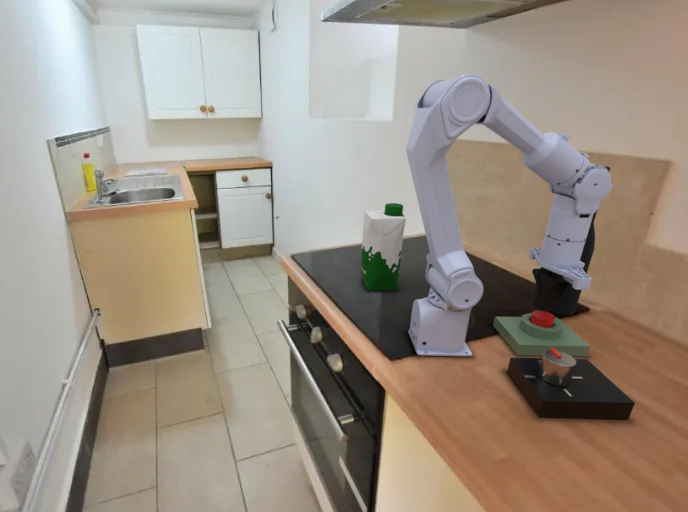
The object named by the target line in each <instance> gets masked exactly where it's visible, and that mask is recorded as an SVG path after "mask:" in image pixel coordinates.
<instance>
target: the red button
mask: <svg viewBox="0 0 688 512" xmlns="http://www.w3.org/2000/svg"><path fill="white" fill-rule="evenodd" d="M531 313H532V316H531V320H530V322H531V323H533V324H535V325H537V326H541V327H545V328H552V327H553V324H554V321H555V318H556V316H555V314H553V313H550V312H548V311H541V310H540V309H539V310H533V311H532V312H531Z"/></svg>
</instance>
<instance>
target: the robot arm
mask: <svg viewBox="0 0 688 512" xmlns="http://www.w3.org/2000/svg"><path fill="white" fill-rule="evenodd" d="M474 125H482V126H484V127H486V128H487V129H489V130H490V131H491V132H493V133H495V135H497V136H499V137H500V138H502V139H503V140H505V141H506V142H507V143H509V144H510V145H512V146H513V147H515V148H516V149H518V150H519V151H520V152H522V157H521V158H522V160H521V161H522V164H523V165H524V166H525V167H527V168H528V169H529V170H530V171H531V172H532V173H534V174H535V175H536V176H538V177H539V178H541V179H542V180H543V181H544V182H545V183H547V184H548V188H549V191H550V192H551V193H552V194H554V198H553V202H552V205H551V210H550V213H549V217H548V222H547V225H546V230H545V234H544V238H543V242H542V245H541V247H530V249H529V254H528V258H529V260H535V261H536V264H537V265H538V266H539V267H540V268H533V269H532V270H531V273H532V275H533V278H534V281H535V286H536V295H537V296H536V297H537V299H536V300H537V308H538V309H539V311H545V312H548V311H553V310H554V309H555V307H556V306H557V304H558V303H559V301H560V300H561V298H562V297H563V296H564V294H565V293H566V292H567V291H568V290H569V289H571V288H572V287H573V288H574V289H576V290H581V291H583V290H585V291H586V290H588V291H589V290H590V287H591V284H592V281H593V278H592V277H591V276H589V275H588V273H587V274H586V273H585V272H584V270H583V269H582V268H583V267H584V265H585V263H583V262H581V261H580V258H581V255H582V251H583V248H584V244H585V241H586V238H587V234H588V231H589V228H590V224H591V221H592V217H593V214H594V213H595V212H596V210H597V211H598V210H599V208H600V205H601V202H602V201H603V200H604V199H605V198H606V197H607V195H609V193H610V192H611V191H612V190H613V187H614V183H612V177H611V174H610V171H608V170H607V169H606V168H605V167H604V166H605V165H602V164H596V163H591V162H590V160H589V158H590V156H589V154H587V152H584V151H583V152H582V151H578V150H577V149H576V148H575V147H574V146H572V144H570V142H568V141H569V139H570V137H569V136H568V135H567V134H566V133H562V132H560V133H559V132H557V133H556V132H554V131H551V132H546V133H542V132H541V131H539V129H538V128H536V127H535V126H534V125H533V124H532V123H531V122H530V120H528V119H527V118H526V117H525V116H523V114H522V113H521V112H520V111H519V110H517V109H516V108H515V106H513V104H511V103H510V102H509V101H508V100H507V99H506V98H505V97H504V96H503V95H502V94H501V92H500V90H499V89H498V88H497V87H495V86H494V85H492V84H488V83H487V81H486V80H485V79H484V78H483V77H481V76H480V75H477V74H473V73H467V74H463V75H460V76H458V77H453V78H448V79H439V80H436V81H434V82H432V83H430V84H429V85H427V87H426V88H425V90H424V91H423V92H422V94H421V95H420V97H419V98H418V100H417V101H416V102H415V104H414V117H413V121H412V124H411V127H410V132H409V135H408V139H407V143H406V146H405V147H406V148H405V150H406V157H407V161H408V165H409V169H410V173H411V178H412V182H413V186H414V190H415V196H416V199H417V203H418V207H419V212H420V216H421V221H422V225H423V229H424V233H425V237H426V242H427V246H428V249H429V250H428V251H429V253H428V254H427V255H426V256H425V258H426V262H427V263H426V264H427V265H426V270H425V280H426V283H427V284H428V285H429V286H430V288H429V292H428V296H427V297H426V296H425V297H423V298H417V299H414V301H413V303H412V308H411V315H410V324H409V325H410V326H409V329H408V335H409V338H410V341H411V343H412V345H413V347H414V350H415V352H416V354H417V355H418V356H425V357H429V356H433V357H472V356H473V352H472V351H471V349H470V347H469V346H468V344H467V343H466V339H467V338H466V337H467V332H468V328H469V322H470V316H471V311H472V310H473V307H475V306H476V305H477V304H478V303H479V302H480V301H481V299H482V297H483V295H484V284H483V282H482V281H481V279H480V278H479V277H478V276H477V275H476V273H475V267H474V266H473V263H472V262H471V260H470V258H469V256H468V255H467V253H466V252H465V249H464V244H463V239H462V234H461V228H460V223H459V219H458V214H457V208H456V203H455V198H454V193H453V188H452V183H451V177H450V173H449V168H448V163H447V158H446V157H447V155H446V154H447V152H449V150H450V149H451V147H452V146H453V145H454V143H455V142H456V140H457V139H458V138H459V137H460V136H462V135H463V134H464V133H465V132H467V131H468V130H469V129H470V128H472V127H473V126H474Z"/></svg>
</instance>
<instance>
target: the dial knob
mask: <svg viewBox="0 0 688 512" xmlns="http://www.w3.org/2000/svg"><path fill="white" fill-rule="evenodd" d="M541 358H542V361H541V365H540V368H539V372H538V374H539V376H540V378H541V379H543V380H544V381H546V382H547V383H550V384H552V385H556V386H567V385H569V384H570V381H571V378H572V375H573V372H574V369H575V366H576V360H575V359H576V358H574V356H570V355H568V354H566V353H564V352H561V351H557V350H556V349H555V348H551V350H547V351H545V352H544V354H543V356H542V357H541Z"/></svg>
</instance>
